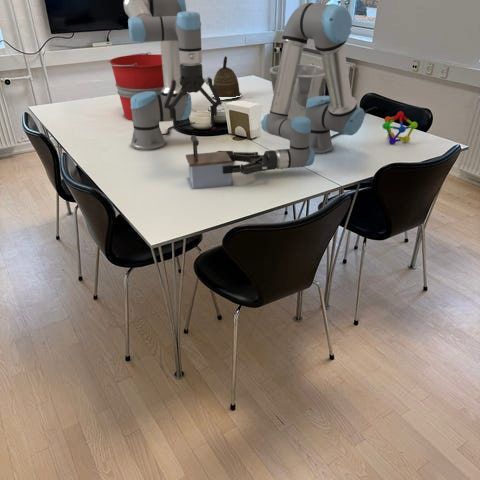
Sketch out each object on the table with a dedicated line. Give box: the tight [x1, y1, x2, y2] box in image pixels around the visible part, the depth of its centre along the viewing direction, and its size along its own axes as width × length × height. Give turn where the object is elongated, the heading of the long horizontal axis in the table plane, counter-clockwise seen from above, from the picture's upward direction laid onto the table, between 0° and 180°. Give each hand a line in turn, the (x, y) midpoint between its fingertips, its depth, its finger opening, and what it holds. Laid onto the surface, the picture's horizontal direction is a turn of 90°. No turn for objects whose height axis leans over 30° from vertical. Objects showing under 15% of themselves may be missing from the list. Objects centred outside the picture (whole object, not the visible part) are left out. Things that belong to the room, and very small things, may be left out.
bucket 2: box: [269, 63, 327, 120], centre depth 226 cm, size 30×30×28 cm
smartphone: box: [216, 150, 234, 155], centre depth 192 cm, size 7×1×15 cm
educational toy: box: [382, 110, 418, 145], centre depth 207 cm, size 16×13×15 cm
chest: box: [188, 162, 233, 190], centre depth 170 cm, size 15×10×9 cm, turn 104°
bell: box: [212, 56, 242, 97], centre depth 278 cm, size 19×26×20 cm
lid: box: [185, 134, 233, 167], centre depth 165 cm, size 16×10×9 cm, turn 104°
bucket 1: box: [106, 51, 164, 121], centre depth 240 cm, size 35×35×30 cm
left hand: (194, 126), depth 159 cm, fingers open, 13 cm apart
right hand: (220, 164), depth 170 cm, fingers closed on chest, 10 cm apart
